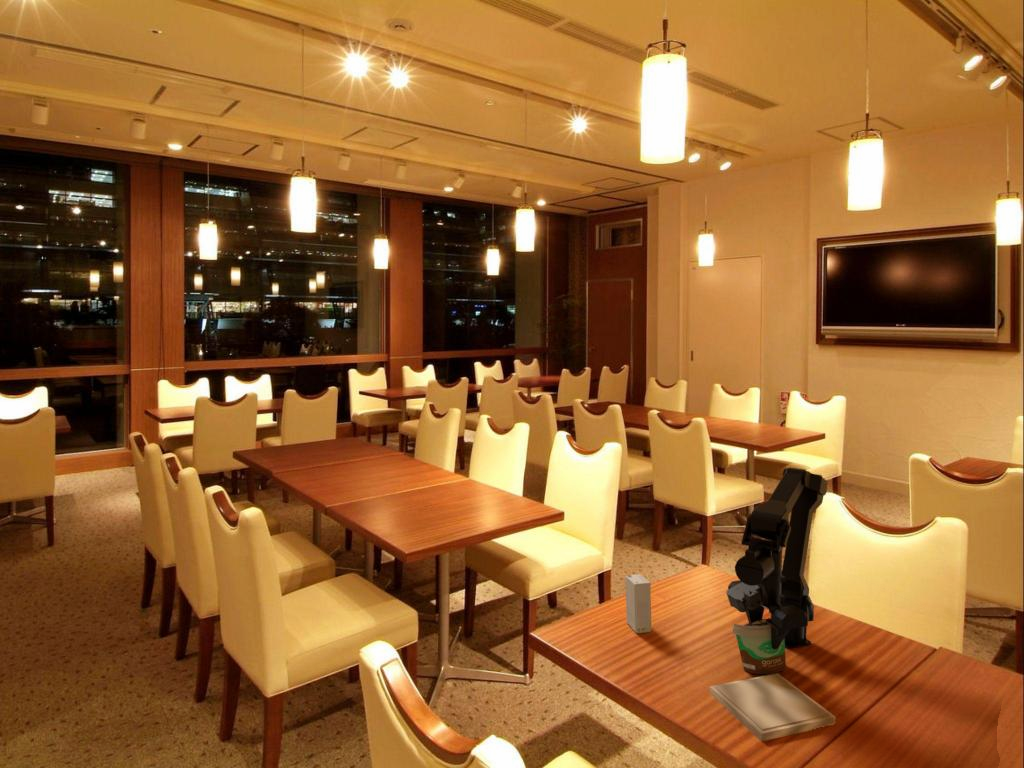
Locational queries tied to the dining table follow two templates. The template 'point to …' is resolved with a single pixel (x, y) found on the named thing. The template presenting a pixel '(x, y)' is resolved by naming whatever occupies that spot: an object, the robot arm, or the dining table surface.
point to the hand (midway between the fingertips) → (764, 641)
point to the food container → (759, 648)
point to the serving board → (771, 706)
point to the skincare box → (638, 603)
